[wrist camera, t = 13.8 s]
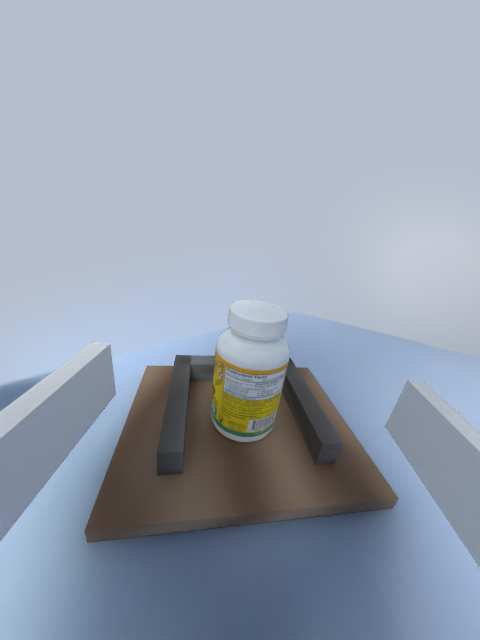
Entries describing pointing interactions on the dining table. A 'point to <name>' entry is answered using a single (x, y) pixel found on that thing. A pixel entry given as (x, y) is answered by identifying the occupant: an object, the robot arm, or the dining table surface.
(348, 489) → the u rest
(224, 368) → the supplement bottle
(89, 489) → the dining table surface
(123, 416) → the dining table surface
